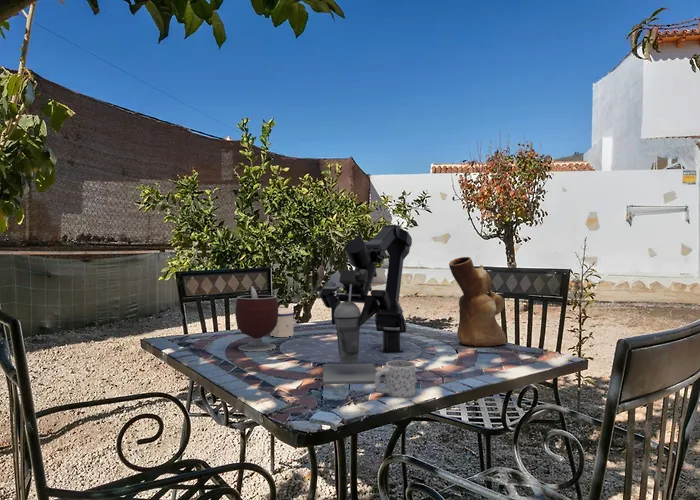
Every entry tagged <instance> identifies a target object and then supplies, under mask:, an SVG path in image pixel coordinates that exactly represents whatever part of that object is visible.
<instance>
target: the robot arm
mask: <svg viewBox="0 0 700 500" xmlns="http://www.w3.org/2000/svg"><path fill="white" fill-rule="evenodd" d="M412 243H413V239H412V236H411V234H410V233H409V231H407V230H404V229H402V228H401V227H400V226H399V225H397V224H385V225H383V226H382V228H381V229H380V231H379V232H378V233H377V234H376V235H375V236H374V237H373V238H372V239H371V240H368V241H364V239H363V236H360V235H359V236H354V238H353V239H351V240H349V241H348V242H346V243H345V244H344V246H343V250H344V252H345V254H346V256H347V259H348V261H349V263H350V266H351V267H354V269H342V270H340V275H339V280H338V282H339V283H340V284H341V285H343V286H342V289H343V291H344V292H345V293H344V292H341V293H340V292H338V290H337V288H330V287H329V288H328V287H322V289H321V290H320V293H319V298H320V299H321V301H322V303H323V305H324V306H325V308H328V309H330V311H331V324H332V325H333V326H335V321H334V312H335V309H336V307H337V306H338V305H339V304H340V303H342V302H346V301H349V290H350V284H352V290H351V302H353V303H355V304H363V307H362V310H361V311H360V312H361V315H360V318H359V321H358V326H359V327H362V326H363V325H364V324H365V323H366V322H367V321H368V320H369V319H371V317H373V316H375V317H374V320H375V327H376V328H375V329H376V332H382V346H380V350H381V352H383V353H402V352H403V353H404V350H403V348H402V347H401V334H403V333H407V322H406V320H405V319H406V318H405V317H404V313H403V312H404V311H403V308H402V306H401V304H400V303H399V302H400V292H401V283H402V275H403V269H404V267H403V266H404V260H405V258H406V257H407V256H408V255H409V254H410V249H411V247H412V246H413V245H412ZM386 254H388V257H389V258H388V259H389V260H388V265H387V273H386V281H385V289H373V287H372V283H373V279H374V278H377V276H378V275H377V271H376V270H377V266H376V264H382V263H383V261H384V260H385V258H386ZM369 292H370V294H369ZM368 294H369V295H368Z"/></svg>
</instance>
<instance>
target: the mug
mask: <svg viewBox="0 0 700 500" xmlns="http://www.w3.org/2000/svg"><path fill="white" fill-rule="evenodd" d="M382 375H385V386H384V387H381V385H380V384H381V383H380V380H381V376H382ZM374 387H375V390H376V392H377V393H380V394H381V393H383V394H386V395H387V396H390V397H395V398H410V397H414V396H415V395H416V362H413V361H409V360H403V359H402V360H397V359H396V360H389V361H387V362H385V368H383V369H380V370H378V371H377V372H376V376H375V383H374ZM413 395H414V396H413Z"/></svg>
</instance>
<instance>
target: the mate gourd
mask: <svg viewBox="0 0 700 500" xmlns="http://www.w3.org/2000/svg"><path fill="white" fill-rule="evenodd" d="M250 289H251V291H250V294H248V295H240V296H237V298H236V302H235V312H234V313H235V321H236V322H235V323H236V326H237V328H238V329H239V331H240V332H241V334H244V335H246V336H248V337H250V338H252V340H251V343H247V344H246V343H245V344H241V345H239V346H238V347H237V350H238V349H240V350H243V351H266V352H268V351H267V350H271V351H273V350H272V349H274V350H275V348H276V349H277V345H276V344H273V343H269V342H268V343H267V342H263V339H262V338H263V337H265V336H267V335H269V334H270V333H271V332H272V331H273V330H274V328H275V327H276V325H277V321H278V308H279V302H278V299H277V298H278V296H277V295H271V294H257V291H256V288H254V286H253V285H252V286H250Z"/></svg>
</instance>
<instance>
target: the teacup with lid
mask: <svg viewBox="0 0 700 500" xmlns="http://www.w3.org/2000/svg"><path fill="white" fill-rule="evenodd" d="M294 314H295V312H294V311H293V310H290V309H289V308H287V307H285V305H284V304H280V305H278V321H277V325H276V327H275V328H274V330H273V331H272V332H271V333H269V334H270V337H271V336H275V337H286V338H290V337H289V336H291V337H294ZM275 337H274V338H275Z"/></svg>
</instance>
